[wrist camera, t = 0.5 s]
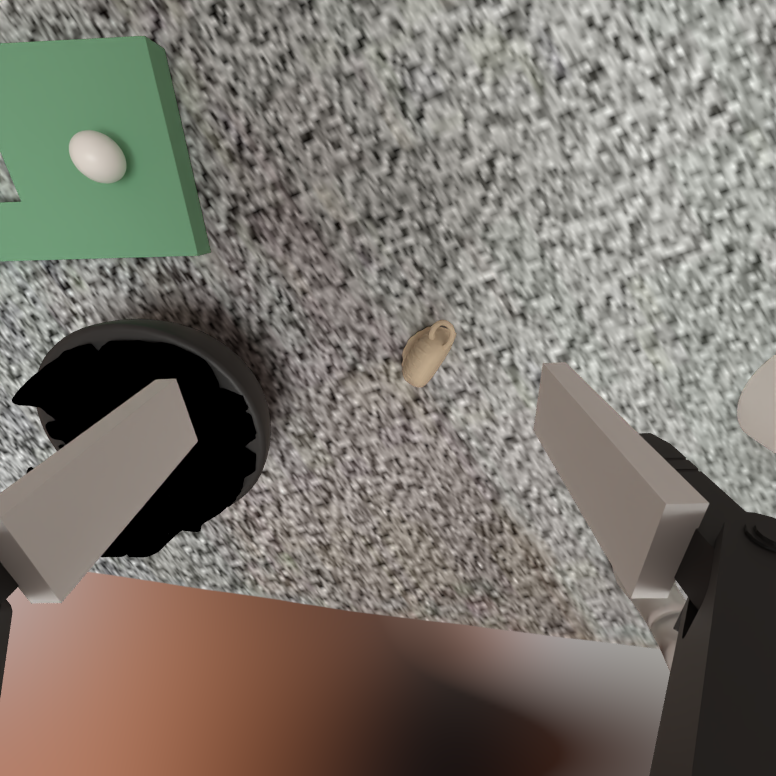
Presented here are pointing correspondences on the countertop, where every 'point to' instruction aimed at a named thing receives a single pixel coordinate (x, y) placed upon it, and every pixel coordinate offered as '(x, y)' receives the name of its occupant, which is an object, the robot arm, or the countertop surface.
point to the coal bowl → (202, 400)
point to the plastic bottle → (660, 618)
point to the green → (114, 119)
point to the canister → (760, 405)
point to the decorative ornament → (427, 352)
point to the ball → (97, 156)
